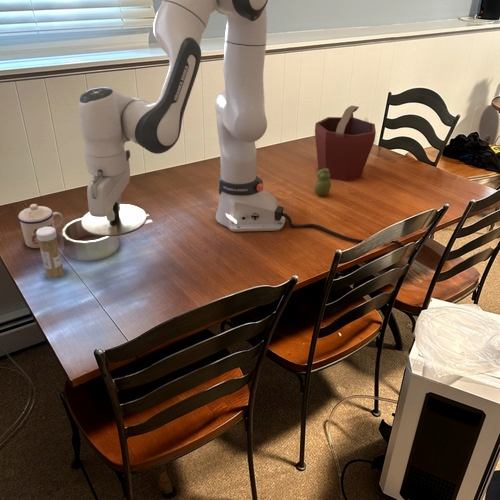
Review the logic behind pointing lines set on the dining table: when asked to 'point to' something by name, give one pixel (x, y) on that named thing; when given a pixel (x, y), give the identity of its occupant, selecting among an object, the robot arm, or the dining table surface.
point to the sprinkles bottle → (50, 252)
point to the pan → (87, 243)
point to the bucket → (344, 144)
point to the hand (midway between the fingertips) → (114, 215)
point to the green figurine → (323, 182)
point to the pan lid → (115, 221)
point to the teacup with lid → (36, 222)
